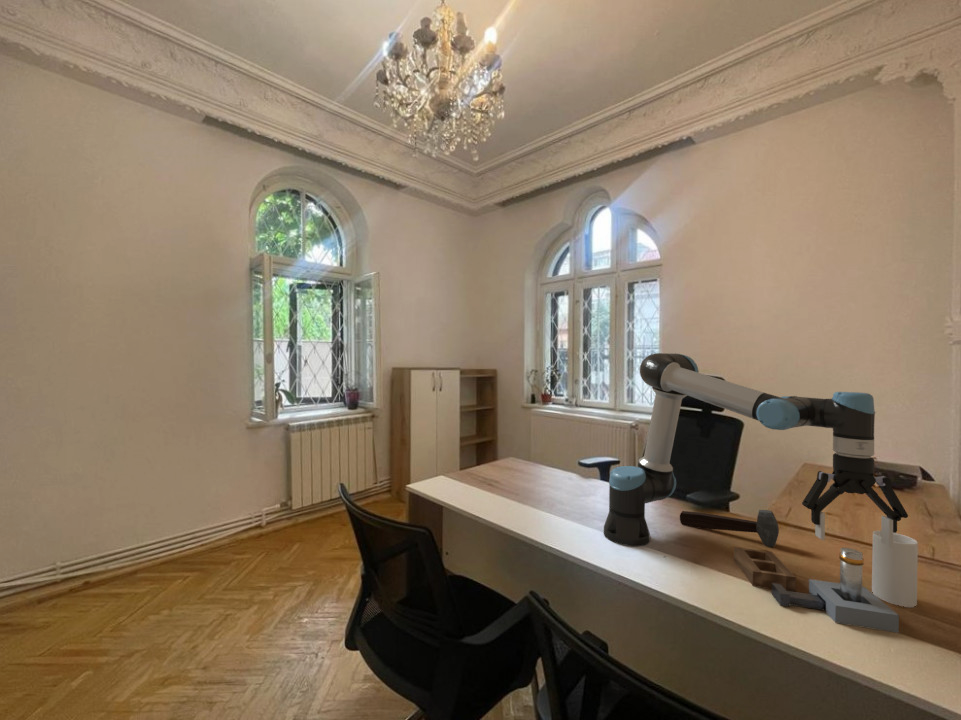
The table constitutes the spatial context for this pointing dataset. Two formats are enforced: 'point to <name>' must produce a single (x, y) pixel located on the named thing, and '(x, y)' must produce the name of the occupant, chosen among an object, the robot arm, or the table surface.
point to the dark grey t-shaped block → (797, 598)
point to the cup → (895, 570)
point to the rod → (851, 574)
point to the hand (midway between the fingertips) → (852, 541)
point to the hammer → (736, 524)
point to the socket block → (855, 608)
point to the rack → (764, 569)
